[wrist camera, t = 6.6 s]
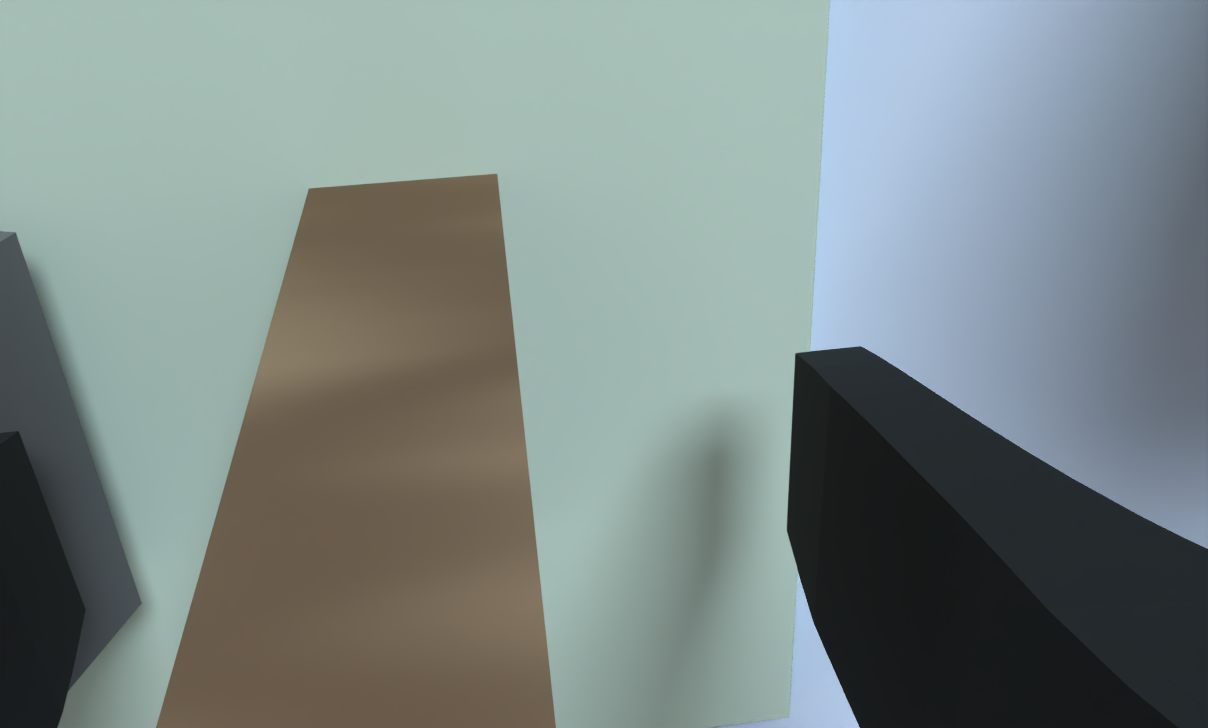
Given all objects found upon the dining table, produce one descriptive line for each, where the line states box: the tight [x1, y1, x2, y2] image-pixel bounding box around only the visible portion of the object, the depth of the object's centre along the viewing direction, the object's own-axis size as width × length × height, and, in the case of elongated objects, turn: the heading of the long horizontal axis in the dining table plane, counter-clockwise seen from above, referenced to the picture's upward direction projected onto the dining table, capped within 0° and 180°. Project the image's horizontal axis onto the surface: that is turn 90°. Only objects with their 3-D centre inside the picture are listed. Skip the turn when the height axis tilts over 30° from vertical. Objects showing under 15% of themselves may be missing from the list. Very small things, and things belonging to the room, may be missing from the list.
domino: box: [156, 174, 556, 728], centre depth 9 cm, size 2×4×7 cm, turn 2°
